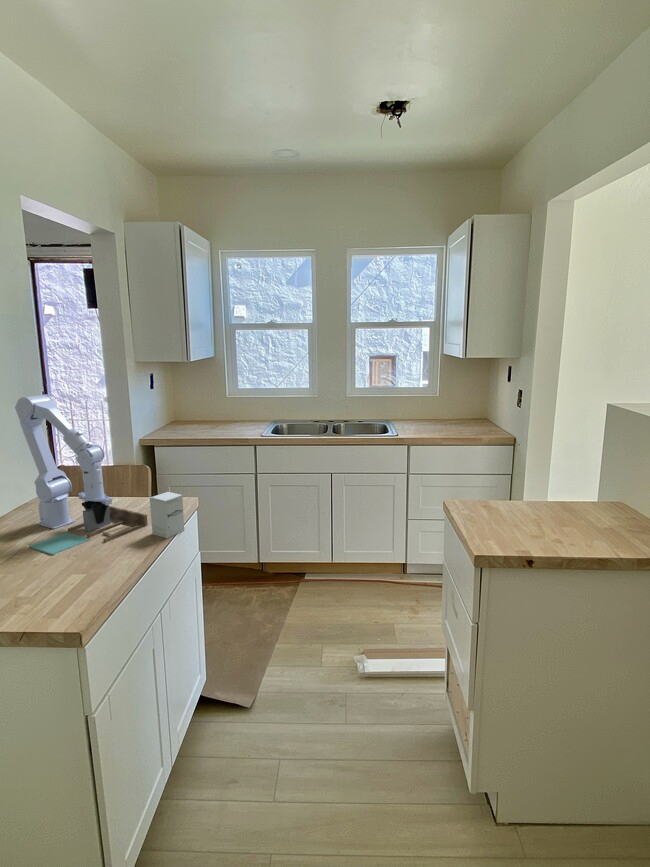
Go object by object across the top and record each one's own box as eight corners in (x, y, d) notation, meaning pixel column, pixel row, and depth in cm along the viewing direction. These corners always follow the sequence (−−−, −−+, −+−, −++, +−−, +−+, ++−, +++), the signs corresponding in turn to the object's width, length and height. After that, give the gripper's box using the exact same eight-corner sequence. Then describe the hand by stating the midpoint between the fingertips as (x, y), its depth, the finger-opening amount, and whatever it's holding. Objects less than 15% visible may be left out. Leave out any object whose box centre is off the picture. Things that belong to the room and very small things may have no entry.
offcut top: (103, 534, 154) (102, 531, 154) (121, 527, 160) (121, 524, 160) (112, 537, 152) (111, 534, 152) (130, 529, 158) (130, 526, 158)
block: (84, 531, 158) (82, 511, 156) (106, 523, 164) (104, 503, 163) (89, 532, 156) (87, 512, 155) (110, 524, 163) (108, 504, 162)
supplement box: (167, 539, 150) (164, 500, 148) (151, 534, 154) (148, 497, 152) (185, 531, 157) (183, 494, 154) (170, 527, 160) (167, 490, 158)
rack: (68, 532, 157) (66, 520, 156) (110, 516, 171) (109, 505, 170) (105, 543, 148) (104, 531, 147) (147, 526, 162) (146, 514, 161)
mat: (29, 547, 145) (29, 545, 145) (67, 533, 156) (66, 532, 156) (53, 555, 140) (52, 553, 140) (90, 540, 150) (90, 539, 150)
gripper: (68, 483, 158) (72, 522, 160) (96, 489, 151) (100, 530, 153) (87, 477, 164) (91, 515, 166) (115, 483, 157) (119, 522, 159)
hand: (97, 522), depth 160 cm, fingers closed on block, 2 cm apart
